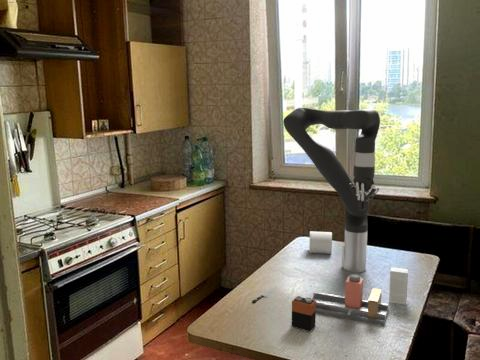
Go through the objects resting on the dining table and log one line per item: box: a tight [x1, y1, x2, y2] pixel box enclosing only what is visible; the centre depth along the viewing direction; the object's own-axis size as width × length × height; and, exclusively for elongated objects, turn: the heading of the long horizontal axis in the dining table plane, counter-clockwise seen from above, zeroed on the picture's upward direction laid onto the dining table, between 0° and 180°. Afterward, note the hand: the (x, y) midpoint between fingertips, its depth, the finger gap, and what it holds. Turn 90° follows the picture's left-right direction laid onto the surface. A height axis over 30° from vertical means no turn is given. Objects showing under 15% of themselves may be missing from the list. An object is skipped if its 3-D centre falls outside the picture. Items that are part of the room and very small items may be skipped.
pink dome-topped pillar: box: [344, 274, 364, 309], centre depth 159 cm, size 5×5×11 cm
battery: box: [291, 295, 317, 332], centre depth 150 cm, size 4×7×10 cm, turn 60°
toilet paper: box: [308, 230, 333, 255], centre depth 218 cm, size 10×10×10 cm
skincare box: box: [388, 266, 409, 305], centre depth 167 cm, size 6×4×12 cm
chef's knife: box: [251, 285, 278, 304], centre depth 175 cm, size 19×1×3 cm
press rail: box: [311, 288, 390, 326], centre depth 161 cm, size 26×12×8 cm, turn 66°
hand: (362, 210), depth 174 cm, fingers closed
